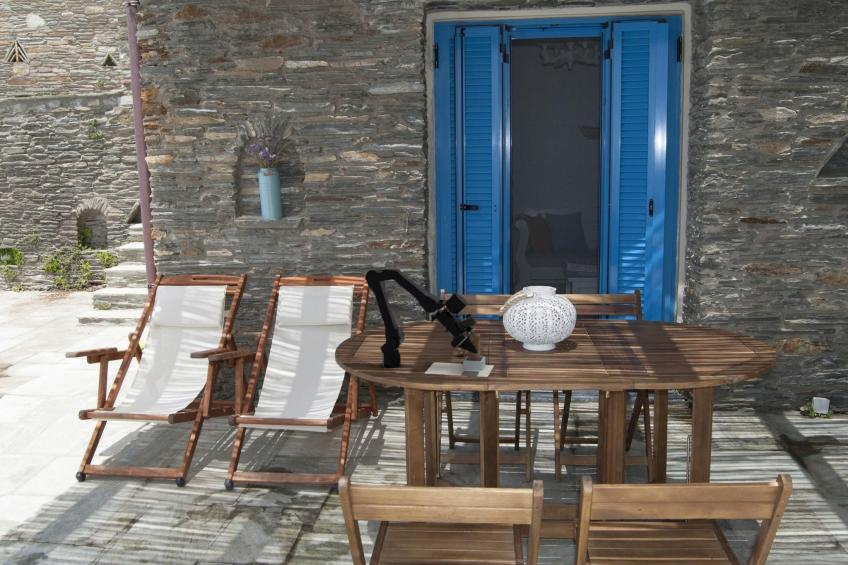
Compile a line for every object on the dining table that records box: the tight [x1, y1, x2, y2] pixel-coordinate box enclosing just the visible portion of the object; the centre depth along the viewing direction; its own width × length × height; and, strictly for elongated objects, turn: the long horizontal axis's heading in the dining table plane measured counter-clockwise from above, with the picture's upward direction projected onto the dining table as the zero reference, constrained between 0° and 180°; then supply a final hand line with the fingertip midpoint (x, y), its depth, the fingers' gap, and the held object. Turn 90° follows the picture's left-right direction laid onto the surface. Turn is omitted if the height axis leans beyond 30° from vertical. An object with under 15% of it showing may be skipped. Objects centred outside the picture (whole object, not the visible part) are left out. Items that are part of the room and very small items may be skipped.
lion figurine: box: [455, 346, 468, 357], centre depth 322 cm, size 15×5×9 cm, turn 152°
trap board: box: [424, 361, 495, 378], centre depth 300 cm, size 24×16×1 cm, turn 76°
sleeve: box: [462, 355, 486, 371], centre depth 302 cm, size 7×7×4 cm
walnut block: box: [467, 332, 481, 361], centre depth 301 cm, size 4×4×13 cm
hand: (477, 351), depth 301 cm, fingers open, 4 cm apart
